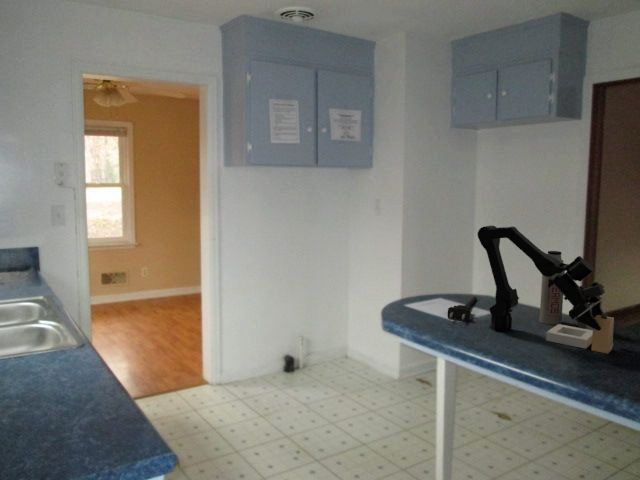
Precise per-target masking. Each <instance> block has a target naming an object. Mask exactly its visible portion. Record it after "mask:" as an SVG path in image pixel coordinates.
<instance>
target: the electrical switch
mask: <svg viewBox="0 0 640 480" xmlns="http://www.w3.org/2000/svg"><path fill="white" fill-rule="evenodd" d="M577 318H578V316H577V317H576V318H575V319H577ZM576 323H577V326H578V327H577V328H582V329H588V330H593V328H592V327H590V326H588V325H586V324H584V323H581V322H579V321H576Z"/></svg>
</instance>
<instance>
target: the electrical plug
mask: <svg viewBox="0 0 640 480" xmlns="http://www.w3.org/2000/svg"><path fill="white" fill-rule="evenodd" d="M477 300H478V298H477V296H475V295H474V296H472V297H471V299H469V301H467V302H466V303H465V305H464V304H463V305H462V304H458V305H453V306H450V307H448V308H447V319H448V320H449V319H450V320H458V321H465V322H466V321H467V322H468V321H470V320H471V308H472V305H473V304H474V303H476V301H477Z"/></svg>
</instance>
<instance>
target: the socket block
mask: <svg viewBox="0 0 640 480" xmlns="http://www.w3.org/2000/svg"><path fill="white" fill-rule="evenodd" d="M545 335H546V336H545V341H547V342H552V343H557V344H561V345H565V346H572V347H577V348H581V349H585V350H586V349H587V348H588V347H590V345H592V335H593V329H592V330H588V329H582V328H579V327H576V326H569V325H565V324H557V325H555V326H554V327H552V328H551V329H548V331H546V333H545Z"/></svg>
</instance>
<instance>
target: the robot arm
mask: <svg viewBox="0 0 640 480" xmlns="http://www.w3.org/2000/svg"><path fill="white" fill-rule="evenodd" d="M476 234H477V238H478V240H479V242H480V244H481V246H482V247H483V249H484V250H485V251H486V254H487V258H488V262H489V266H490V270H491V274H492V276H493V280H494V281H493V282H494V284H495V288H496V289H495V294H494V295H495V297H494V298H495V304H494V305H492V306H491V307H489V313H490V315H491V316H490V317H491V320H490V325H488V328H490V329H492V330H493V331H495V332H513V329H512V326H513V325H512V324H513V317H512V313H513V310H514V309H515V308H517V306H518V304H519V300H520V297H519V295H518V290H517V288H512V286H510V283H509V279H508V275H507V273H506V272H507V271H506V268H505V265H504V261H503V257H502V254H501V249H500V244H501V239H508V240H509V241H510V242H511V243H512V244H514V245H515V246H516V247H517V248H519V250H520V251H522V252H523V254H525V255H526V256H527V257H528V258H530V260H531V261H532V262H533V264H534V266H535V268H536V269H537V270H538V271H539V273H540V274H541V276H542V275H544V276H546V277H551V276H553V275H556V274H558V273H562V272H564V271H565V274H564V275H561V274H559V275H557V276H556V277H555V278H554V279H548V287H551V286H553V285H555V286H556V287H557V288H558V289H559V290H560V292H561V293H562V294H563V300H565V301H568V302H569V303H570V304H571V306H572V308H571V309H570V310H569V311H568V316H569V317H570V319H571V320H575V321H576V322H577V321H579V322H581V323H584V324H586V325H588V326H590V327H592V328H594V329H596V330H598V331H599V330H601V327H600V326H599V324H598V323H597V321H596V320H595V317H596V316H597V315H600V316H601V314H605V313H604V311H603V309H602V304H603V301H602V299H603V298H602V297H601V296H602V295H604V294H605V293H606V292H605V290H604V288H605V287H604V285H602V283H599V281H595V282H591V286H589V287H584V286H582V285H580V286H579V284H577V281H578V282H582V281H583V280H584V279H586V278H588V277H589V276H590V275H591V274H593V273H594V272H595V268H594V266H593V265H592V264H591V262H589V261H588V260H586V259H585V258H583V257H582V256H580V255H579V256H576V258H574V260H572V262H570V263H565V262H563V263H561V262H560V261H559V260H557V259H556V258H554V257H552V256H551V255H549V254H548V253H546V252H544V251H543V250H541V249H540V248H539V247H538V246H536V245H535V244H534V243H533V242H532V241H530V239H529V238H528V237H526V236H525V235H524V234H522V232H520V231H519V229H518V228H517V227H515V226H505V227H502V226H501V227H497V226H495V225H487V226H482V227H480V228H479V229H478V230H477V233H476ZM511 312H512V313H511ZM577 316H578V318H577V319H576V317H577Z"/></svg>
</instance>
